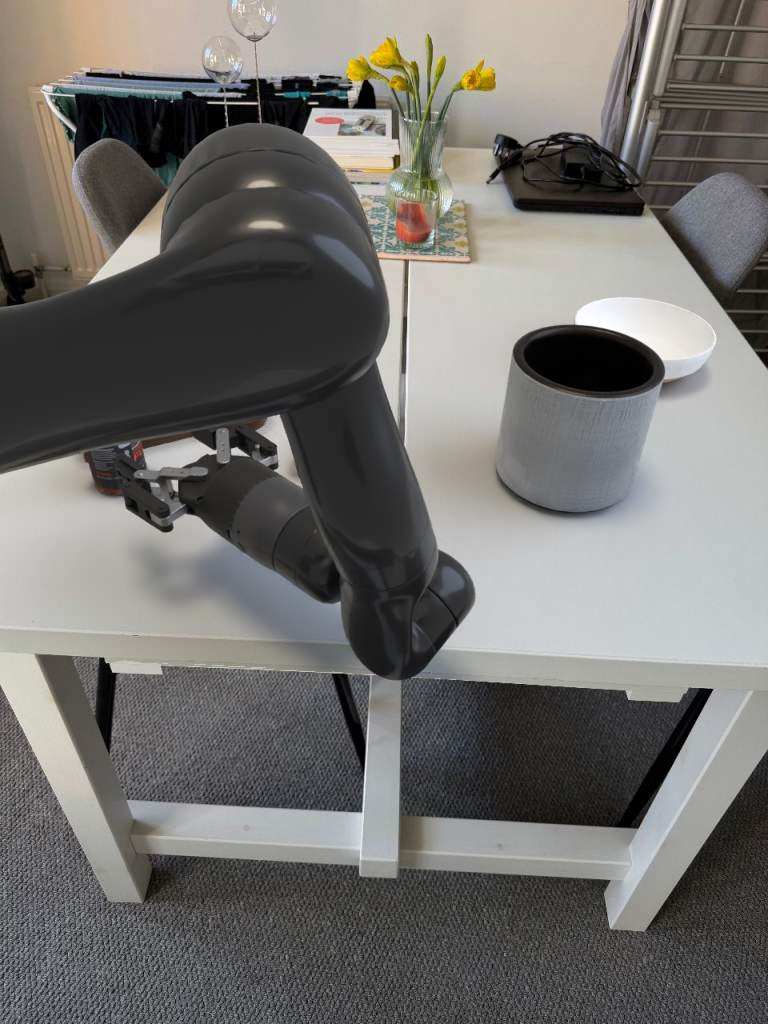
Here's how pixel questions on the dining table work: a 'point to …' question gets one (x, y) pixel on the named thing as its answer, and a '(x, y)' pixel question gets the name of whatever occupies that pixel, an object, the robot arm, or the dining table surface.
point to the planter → (576, 416)
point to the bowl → (655, 330)
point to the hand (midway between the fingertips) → (157, 443)
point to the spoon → (156, 441)
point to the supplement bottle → (112, 465)
